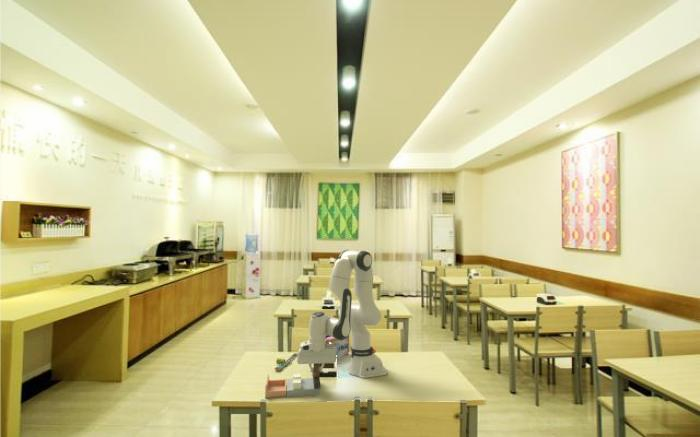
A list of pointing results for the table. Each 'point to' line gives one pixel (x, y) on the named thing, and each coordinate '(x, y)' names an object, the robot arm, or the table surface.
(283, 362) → the flamethrower
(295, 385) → the tile
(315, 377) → the scraper
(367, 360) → the robot arm
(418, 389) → the table surface
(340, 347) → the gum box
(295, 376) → the tile
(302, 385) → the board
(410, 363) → the table surface
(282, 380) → the box
